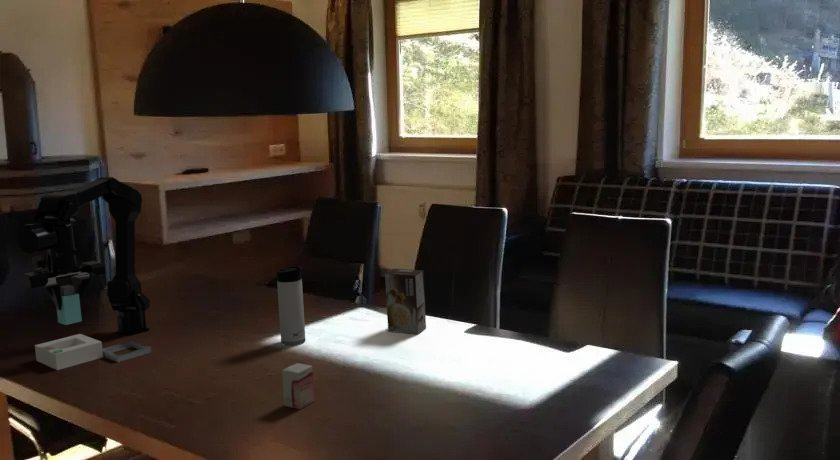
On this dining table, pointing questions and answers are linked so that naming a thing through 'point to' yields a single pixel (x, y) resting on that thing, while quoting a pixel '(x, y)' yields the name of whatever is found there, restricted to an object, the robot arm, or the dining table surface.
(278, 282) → the travel mug
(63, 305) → the plug
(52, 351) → the frame
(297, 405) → the small box
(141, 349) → the open square ring
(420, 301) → the coffee box
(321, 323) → the dining table surface
